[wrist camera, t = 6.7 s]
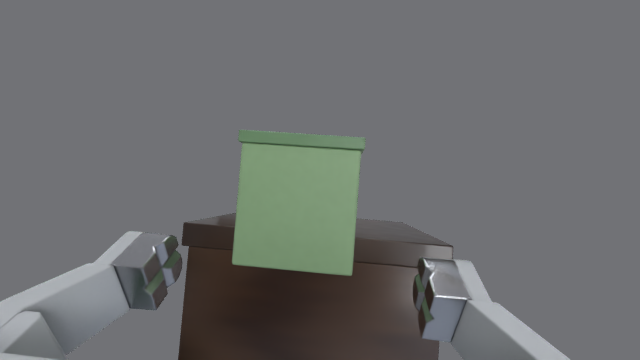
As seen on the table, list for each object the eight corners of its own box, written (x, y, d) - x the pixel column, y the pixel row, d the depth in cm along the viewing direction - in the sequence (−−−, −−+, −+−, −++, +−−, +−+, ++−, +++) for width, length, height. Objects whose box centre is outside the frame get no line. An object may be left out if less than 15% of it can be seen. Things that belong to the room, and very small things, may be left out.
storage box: (344, 217, 34) (347, 177, 34) (355, 278, 10) (365, 137, 10) (307, 214, 34) (310, 174, 34) (226, 265, 10) (238, 129, 10)
